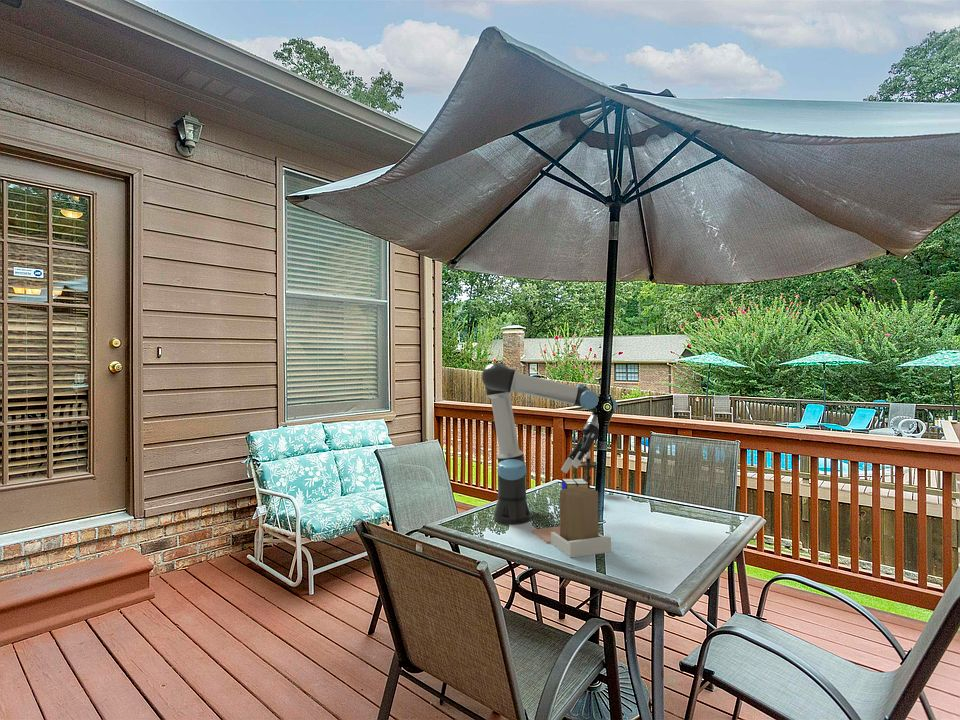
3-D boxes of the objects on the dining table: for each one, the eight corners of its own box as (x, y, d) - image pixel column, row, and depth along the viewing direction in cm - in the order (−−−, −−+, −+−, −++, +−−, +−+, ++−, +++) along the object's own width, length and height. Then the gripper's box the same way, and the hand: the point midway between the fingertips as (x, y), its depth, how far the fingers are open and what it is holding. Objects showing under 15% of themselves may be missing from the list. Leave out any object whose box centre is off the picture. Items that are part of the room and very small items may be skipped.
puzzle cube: (561, 500, 246) (561, 478, 246) (583, 499, 247) (582, 478, 247) (566, 506, 236) (566, 484, 236) (588, 505, 237) (588, 483, 237)
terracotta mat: (547, 543, 189) (547, 541, 189) (531, 531, 202) (531, 529, 202) (591, 537, 195) (591, 535, 195) (573, 526, 208) (573, 524, 208)
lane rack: (610, 552, 180) (610, 537, 180) (570, 557, 175) (570, 542, 175) (589, 538, 194) (589, 524, 194) (551, 543, 189) (550, 529, 189)
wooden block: (577, 540, 192) (577, 484, 192) (599, 547, 184) (599, 490, 184) (558, 546, 186) (558, 489, 186) (581, 554, 178) (580, 494, 178)
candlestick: (583, 496, 253) (583, 423, 253) (573, 491, 263) (572, 420, 263) (603, 494, 256) (603, 422, 256) (593, 489, 266) (592, 419, 266)
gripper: (612, 426, 212) (586, 469, 204) (590, 439, 235) (566, 478, 227) (597, 415, 213) (570, 458, 205) (576, 429, 236) (552, 468, 228)
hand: (568, 469), depth 216 cm, fingers open, 13 cm apart
